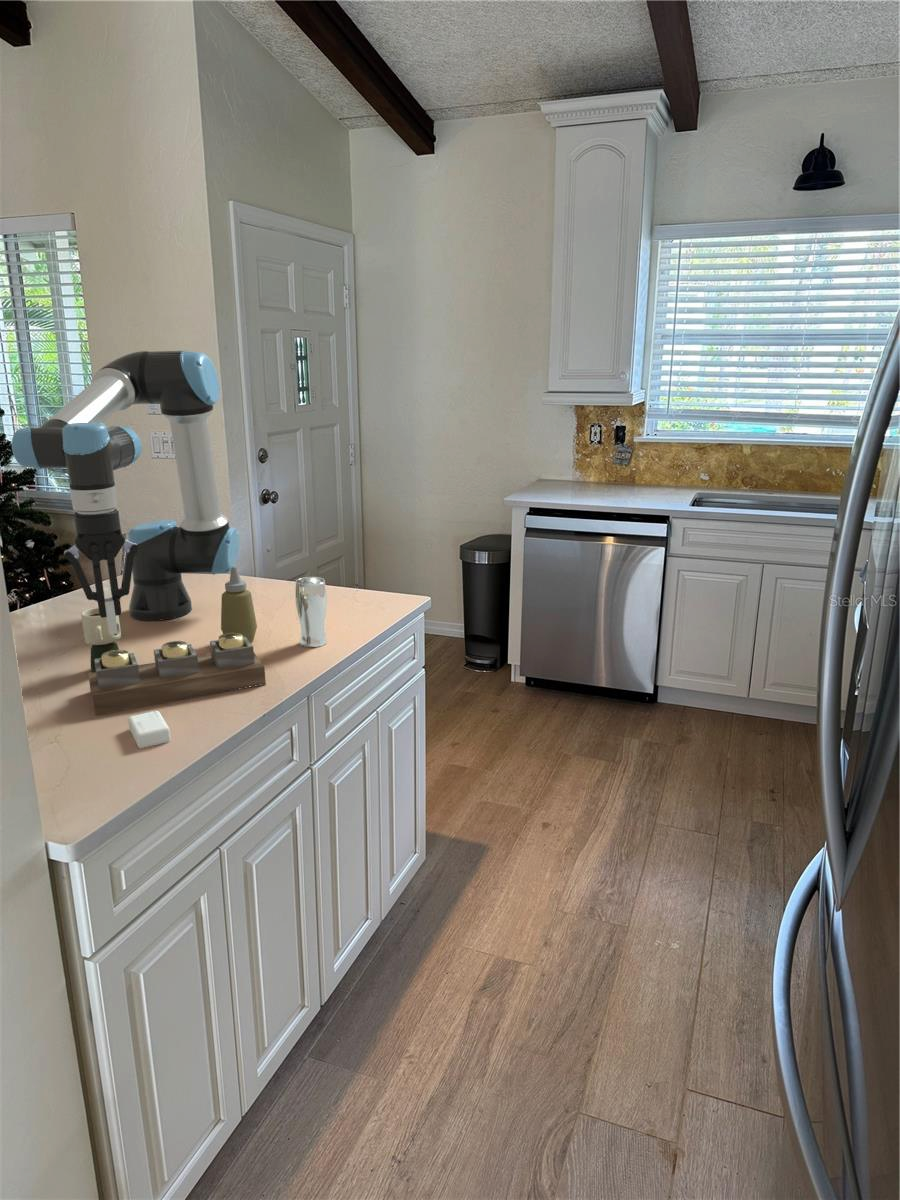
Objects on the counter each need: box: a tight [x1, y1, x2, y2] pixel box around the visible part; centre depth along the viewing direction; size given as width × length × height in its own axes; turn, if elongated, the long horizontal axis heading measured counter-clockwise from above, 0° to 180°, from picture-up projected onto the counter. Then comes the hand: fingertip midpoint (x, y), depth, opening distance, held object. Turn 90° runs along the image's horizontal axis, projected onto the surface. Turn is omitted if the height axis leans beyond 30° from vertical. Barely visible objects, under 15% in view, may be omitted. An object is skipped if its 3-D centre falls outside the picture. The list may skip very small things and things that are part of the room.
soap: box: [127, 710, 171, 749], centre depth 145 cm, size 9×6×3 cm, turn 31°
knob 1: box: [101, 649, 130, 669], centre depth 158 cm, size 5×5×5 cm
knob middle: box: [161, 640, 188, 660], centre depth 163 cm, size 5×5×5 cm
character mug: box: [80, 606, 122, 672], centre depth 173 cm, size 11×7×13 cm, turn 16°
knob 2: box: [218, 633, 244, 651], centre depth 168 cm, size 5×5×5 cm
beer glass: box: [294, 576, 328, 648], centre depth 188 cm, size 7×7×15 cm
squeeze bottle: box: [220, 566, 258, 644], centre depth 188 cm, size 8×8×18 cm
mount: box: [87, 636, 267, 716], centre depth 164 cm, size 12×32×8 cm, turn 116°
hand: (113, 631), depth 157 cm, fingers closed
